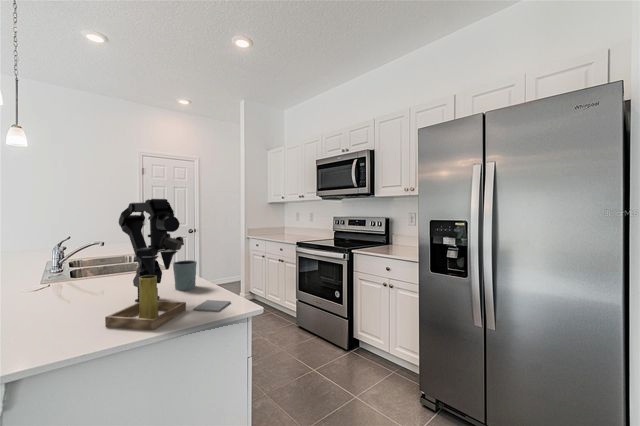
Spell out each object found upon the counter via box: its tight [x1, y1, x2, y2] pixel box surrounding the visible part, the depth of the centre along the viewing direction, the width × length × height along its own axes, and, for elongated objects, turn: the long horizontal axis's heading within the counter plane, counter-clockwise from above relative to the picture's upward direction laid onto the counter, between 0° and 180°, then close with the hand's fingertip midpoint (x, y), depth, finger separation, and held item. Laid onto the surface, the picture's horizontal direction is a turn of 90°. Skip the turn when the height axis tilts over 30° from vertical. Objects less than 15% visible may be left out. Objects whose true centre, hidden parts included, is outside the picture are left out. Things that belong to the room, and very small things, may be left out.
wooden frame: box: [104, 300, 187, 331], centre depth 102 cm, size 17×17×3 cm
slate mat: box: [192, 299, 231, 313], centre depth 114 cm, size 10×10×1 cm
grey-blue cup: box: [172, 259, 197, 291], centre depth 138 cm, size 10×10×12 cm
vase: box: [137, 275, 160, 319], centre depth 102 cm, size 6×6×14 cm
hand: (160, 271), depth 114 cm, fingers open, 9 cm apart
